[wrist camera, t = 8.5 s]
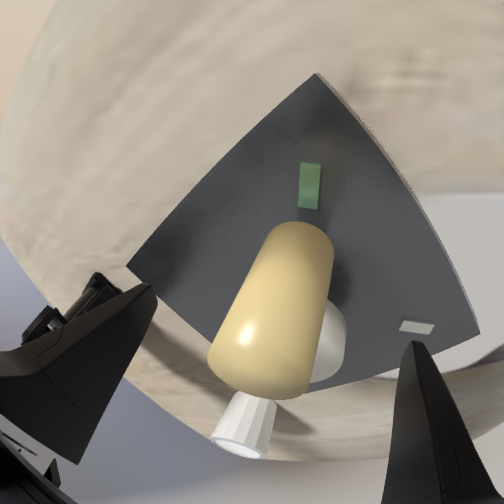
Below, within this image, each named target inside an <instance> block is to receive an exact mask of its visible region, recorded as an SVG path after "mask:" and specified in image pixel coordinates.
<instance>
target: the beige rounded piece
mask: <svg viewBox="0 0 504 504" xmlns="http://www.w3.org/2000/svg"><path fill="white" fill-rule="evenodd" d="M333 261H334V249H333V245H332V243H331V241H330V239H329V238H328V236H327V235H326V234H325V233H324V232H323V231H321V230H320V229H319V228H317V227H315V226H313V225H311V224H308V223H305V222H298V221H292V222H286V223H282V224H280V225H278V226H276V227H275V228H274V229H272V230H271V231H270V233H269V234H268V236H267V237H266V239H265V241H264V243H263V245H262V247H261V249H260V251H259V253H258V255H257V257H256V259H255V261H254V263H253V265H252V267H251V269H250V271H249V273H248V275H247V277H246V279H245V281H244V283H243V285H242V287H241V288H240V290H239V292H238V294H237V296H236V298H235V300H234V302H233V304H232V306H231V308H230V310H229V312H228V314H227V316H226V318H225V320H224V322H223V324H222V325H221V327H220V329H219V331H218V333H217V335H216V337H215V339H214V341H213V343H212V345H211V347H210V349H209V351H208V353H207V361H208V364H209V366H210V368H211V369H212V371H213V372H214V373H215V374H216V375H217V376H218V377H219V378H220V379H221V380H222V381H224V382H225V383H227V384H228V385H230V386H231V387H233V388H235V389H237V390H239V391H241V392H243V393H246V394H249V395H252V396H255V397H259V398H264V399H271V400H286V399H292V398H296V397H298V396H300V395H302V394H303V393H305V392H306V391H307V389H308V387H309V383H314V382H318V381H322V380H324V379H327V378H329V377H331V376H332V375H334V374H335V373H336V372H337V371H338V370H339V369H340V367H341V365H342V362H343V358H344V350H345V343H346V335H347V325H346V322H345V319H344V317H343V315H342V313H341V312H340V311H339V309H338V308H337V307H336V306H335V305H334V304H333V303H332V302H330V301H329V300H328V299H327V297H328V292H329V286H330V280H331V274H332V267H333Z"/></svg>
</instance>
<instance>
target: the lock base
mask: <svg viewBox="0 0 504 504" xmlns="http://www.w3.org/2000/svg"><path fill="white" fill-rule="evenodd" d="M292 221H298V222H305V223H308V224H311V225H313V226H315V227H317V228H319V229H320V230H321V231H323V232H324V233H325V234H326V235H327V236H328V238H329V239H330V241H331V243H332V245H333V249H334V261H333V267H332V274H331V280H330V286H329V292H328V297H327V299H328V300H329V301H330V302H332V303H333V304H334V305H335V306H336V307H337V308H338V309H339V311H340V312H341V313H342V315H343V317H344V319H345V322H346V325H347V335H346V343H345V350H344V358H343V362H342V365H341V367H340V369H339V370H338V371H337V372H336V373H335V374H334V375H332V376H331V377H329V378H327V379H324V380H322V381H318V382H314V383H309V387H308V389H307V391H306V392H305V393H309V392H314V391H318V390H322V389H327V388H331V387H335V386H339V385H342V384H346V383H350V382H354V381H357V380H361V379H364V378H368V377H371V376H374V375H377V374H381V373H383V372H386V371H390V370H393V369H396V368H399V367H400V363H401V358H402V355H403V353H404V352H405V350H406V348H407V347H408V345H409V343H410V342H411V341H412V340H415V341H422V342H423V343H424V344H425V346H426V347H427V349H428V351H429V353H430V355H434V354H436V353H439V352H441V351H444V350H446V349H448V348H450V347H453V346H455V345H457V344H460V343H462V342H464V341H466V340H469V339H471V338H473V337H475V336H477V335H479V334H480V330H479V326H478V322H477V319H476V316H475V314H474V311H473V309H472V306H471V304H470V301H469V299H468V297H467V294H466V292H465V290H464V287H463V285H462V283H461V281H460V278H459V276H458V274H457V272H456V270H455V268H454V266H453V264H452V262H451V260H450V258H449V256H448V254H447V252H446V250H445V248H444V246H443V244H442V242H441V240H440V239H439V237H438V235H437V233H436V231H435V229H434V227H433V226H432V224H431V222H430V220H429V219H428V217H427V215H426V214H425V212H424V210H423V209H422V207H421V205H420V204H419V202H418V200H417V199H416V197H415V196H414V194H413V192H412V191H411V189H410V188H409V186H408V185H407V183H406V182H405V180H404V179H403V177H402V176H401V174H400V173H399V171H398V170H397V168H396V167H395V165H394V164H393V163H392V161H391V160H390V158H389V157H388V156H387V154H386V153H385V151H384V150H383V149H382V147H381V146H380V145H379V143H378V142H377V141H376V139H375V138H374V137H373V135H372V134H371V133H370V132H369V130H368V129H367V128H366V127H365V125H364V124H363V123H362V122H361V120H360V119H359V118H358V117H357V115H356V114H355V113H354V112H353V111H352V110H351V108H350V107H349V106H348V105H347V104H346V103H345V101H344V100H343V99H342V98H341V97H340V96H339V95H338V93H337V92H336V91H335V90H334V89H333V88H332V87H331V86H330V85H329V84H328V83H327V82H326V80H325V79H324V78H323V77H322V76H321V75H320V74H319V73H315V74H314V75H312V76H311V77H310V78H309V79H308V80H306V81H305V82H304V83H303V84H302V85H300V86H299V87H298V88H297V89H296V90H295V91H294V92H292V93H291V94H290V95H289V96H288V97H287V98H286V99H284V100H283V101H282V102H281V103H280V104H279V105H278V106H277V107H275V108H274V109H273V110H272V111H271V112H270V113H269V114H268V115H267V116H266V117H264V118H263V119H262V120H261V121H260V122H259V123H258V124H257V125H256V126H255V127H254V128H253V129H252V130H251V131H250V132H248V133H247V134H246V135H245V136H244V137H243V138H242V139H241V140H240V141H239V142H238V143H237V144H236V145H235V146H234V147H233V148H232V149H231V150H230V151H229V152H228V153H227V154H226V155H225V156H224V157H223V158H222V159H221V160H220V161H219V162H218V163H217V164H216V165H215V166H214V167H213V168H212V169H211V170H210V171H209V172H208V173H207V174H206V175H205V176H204V177H203V178H202V180H201V181H200V182H199V183H198V184H197V185H196V186H195V187H194V188H193V189H192V190H191V191H190V192H189V193H188V194H187V196H186V197H185V198H184V199H183V200H182V201H181V202H180V203H179V204H178V205H177V206H176V208H175V209H174V210H173V211H172V212H171V213H170V214H169V215H168V217H167V218H166V219H165V220H164V221H163V222H162V223H161V225H160V226H159V227H158V228H157V229H156V230H155V231H154V233H153V234H152V235H151V236H150V237H149V238H148V240H147V241H146V242H145V243H144V244H143V246H142V247H141V248H140V249H139V250H138V252H137V253H136V254H135V255H134V256H133V258H132V259H131V260H130V261H129V263H128V264H127V265H126V267H127V268H128V269H129V270H130V271H131V272H133V273H134V274H135V275H136V276H137V277H138V278H139V279H140V280H141V281H142V282H143V283H146V284H149V285H152V286H153V288H154V291H155V294H156V295H157V296H158V297H159V298H160V299H161V300H162V301H163V302H165V303H166V304H167V305H168V306H169V307H170V308H171V309H172V310H173V311H175V312H176V313H177V314H178V315H179V316H180V317H181V318H183V319H184V320H185V321H186V322H187V323H188V324H189V325H191V326H192V327H193V328H194V329H195V330H197V331H198V332H199V333H200V334H201V335H202V336H204V337H205V338H206V339H207V340H208V341H210V342H211V343H213V341H214V339H215V337H216V335H217V333H218V331H219V329H220V327H221V325H222V324H223V322H224V320H225V318H226V316H227V314H228V312H229V310H230V308H231V306H232V304H233V302H234V300H235V298H236V296H237V294H238V292H239V290H240V288H241V287H242V285H243V283H244V281H245V279H246V277H247V275H248V273H249V271H250V269H251V267H252V265H253V263H254V261H255V259H256V257H257V255H258V253H259V251H260V249H261V247H262V245H263V243H264V241H265V239H266V237H267V236H268V234H269V233H270V231H271V230H272V229H274V228H275V227H276V226H278V225H280V224H282V223H286V222H292ZM305 393H303V394H305Z"/></svg>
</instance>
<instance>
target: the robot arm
mask: <svg viewBox="0 0 504 504" xmlns="http://www.w3.org/2000/svg"><path fill="white" fill-rule="evenodd" d="M82 294H83V295H82V296H81V297H80V298H79V299H78V300H77V301H76V302H75V303H74V305H73V306H72V307H71V308H70V309H69V310H68V311H67V312H66V313H65V315H64V316H62V315H61V314H60V312H59V310H58V309H57V308H56V307H55V308H54V309H53V308H51V307H50V306H48V305H47V307H46V308H45V309H43V311H42V312H41V313H40V314H39V315H38V316H37V317H36V318H35V320H34V321H33V322H32V323H31V324H30V325H29V327H28V328H27V329H26V330H25V331H24V332H23V334H22V343H21V347H18V348H16V349H14V350H11V351H3V352H2V351H1V352H0V504H78V503H76V502H75V501H74V500H72V499H71V498H70V497H68V496H67V495H66V494H65V493H63V492H62V491H61V490H60V489H58V488H59V486H60V484H61V481H60V477H59V472H58V468H57V463H56V459H55V458H54V457H55V455H56V454H58V455H60V456H62V457H64V458H65V459H67V460H69V461H71V462H73V463H74V464H76V465H78V464H79V462H80V460H81V458H82V456H83V454H84V452H85V450H86V448H87V446H88V443H89V442H90V440H91V437H92V435H93V433H94V431H95V429H96V427H97V425H98V423H99V421H100V419H101V417H102V415H103V413H104V411H105V409H106V407H107V405H108V403H109V401H110V400H111V398H112V396H113V394H114V392H115V390H116V388H117V386H118V384H119V382H120V380H121V379H122V377H123V375H124V373H125V371H126V369H127V368H128V366H129V364H130V362H131V360H132V358H133V357H134V355H135V353H136V351H137V349H138V348H139V346H140V344H141V342H142V340H143V338H144V336H145V334H146V331H147V329H148V327H149V324H150V322H151V320H152V317H153V315H154V313H155V311H156V308H157V305H158V300H157V297H156V294H155V291H154V288H153V286H152V285H149V284H146V283H141V284H139V285H137V286H135V287H133V288H132V289H130V290H128V291H126V292H124V293H122V294H119V293H118V292H117V291H116V290H115V289H114V288H113V287H112V286H111V285H110V284H109V283H108V282H107V281H106V280H105V279H104V278H103V277H102V276H101V275H100V274H99V273H97V272H95V273H94V274H93V275H92V277H91V279H90V280H89V282H88V284H87V286H86V287H85V289H84V291H83V293H82ZM48 324H49V325H50V326H51V327H52V328H53V329H52V330H50V328H49V327H48V326H47V325H48ZM381 504H504V498H503V497H502V496H501V495H500V494H499V493H498V492H497V490H496V489H495V487H494V485H493V483H492V481H491V479H490V477H489V475H488V473H487V471H486V469H485V467H484V465H483V463H482V461H481V459H480V457H479V455H478V453H477V451H476V449H475V447H474V444H473V442H472V440H471V438H470V435H469V433H468V431H467V428H465V424H464V422H463V419H462V417H461V415H460V413H459V411H458V408H457V406H456V404H455V402H454V400H453V398H452V396H451V394H450V392H449V390H448V387H447V385H446V383H445V381H444V380H443V378H442V376H441V374H440V372H439V370H438V368H437V366H436V364H435V362H434V360H433V358H432V357H431V355H430V353H429V351H428V349H427V347H426V346H425V344H424V343H423V342H422V341H415V340H412V341H411V342H410V343H409V345H408V347H407V348H406V350H405V352H404V353H403V355H402V358H401V363H400V371H399V378H398V384H397V390H396V396H395V404H394V416H393V428H392V437H391V446H390V454H389V461H388V468H387V474H386V480H385V486H384V492H383V496H382V502H381Z"/></svg>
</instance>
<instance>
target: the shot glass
mask: <svg viewBox="0 0 504 504" xmlns="http://www.w3.org/2000/svg"><path fill="white" fill-rule="evenodd" d="M276 410H277V405H276V403H275V402H274V401H273V400H271V399H264V398H259V397H255V396H252V395H249V394H246V393H243V392H241V391H238V392H236V393H235V394H234V396H233V397H232V399H231V401H230V403H229V405H228V407H227V408H226V410H225V412H224V414H223V416H222V417H221V419H220V421H219V423H218V424H217V426H216V428H215V430H214V431H213V433H212V435H211V437H210V441H211V442H212V443H213V444H215V445H216V446H218V447H220V448H221V449H223V450H226V451H228V452H230V453H233V454H236V455H239V456H243V457H248V458H253V459H263V458H265V457H266V454H267V450H268V446H269V442H270V437H271V433H272V428H273V424H274V419H275V415H276Z"/></svg>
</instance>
